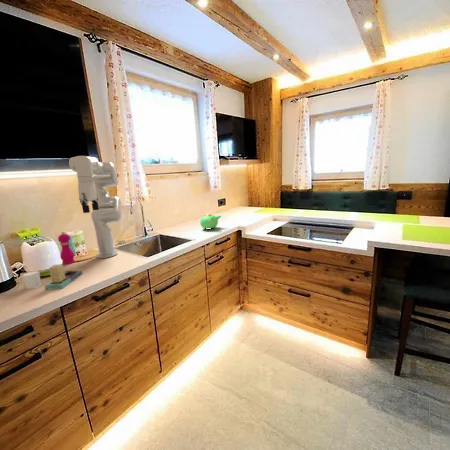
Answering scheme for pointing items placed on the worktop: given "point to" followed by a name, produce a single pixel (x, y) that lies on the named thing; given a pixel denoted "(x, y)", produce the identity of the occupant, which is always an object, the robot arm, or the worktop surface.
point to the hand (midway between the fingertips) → (91, 211)
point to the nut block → (57, 274)
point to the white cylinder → (31, 279)
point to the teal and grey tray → (67, 281)
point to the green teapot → (209, 221)
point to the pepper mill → (66, 249)
